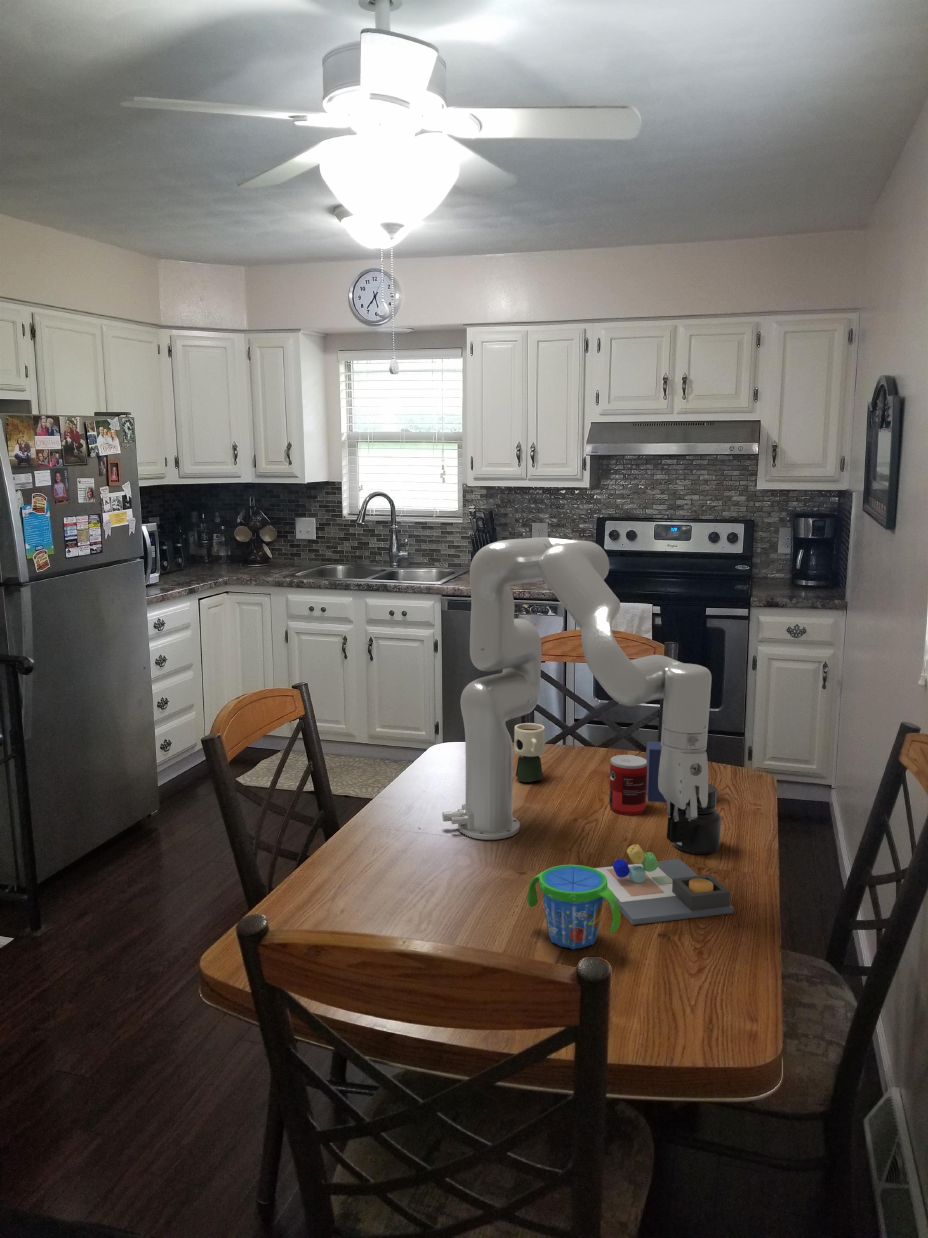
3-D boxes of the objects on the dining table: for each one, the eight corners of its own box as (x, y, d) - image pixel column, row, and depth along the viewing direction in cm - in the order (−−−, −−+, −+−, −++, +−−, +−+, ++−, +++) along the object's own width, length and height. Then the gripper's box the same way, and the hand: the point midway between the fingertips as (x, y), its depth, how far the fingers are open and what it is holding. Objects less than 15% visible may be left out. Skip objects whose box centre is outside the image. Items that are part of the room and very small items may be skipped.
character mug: (509, 773, 228) (509, 721, 226) (538, 772, 229) (538, 720, 227) (519, 788, 218) (520, 734, 215) (549, 787, 219) (550, 732, 217)
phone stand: (696, 785, 220) (698, 735, 218) (703, 803, 208) (705, 751, 206) (643, 783, 221) (645, 734, 219) (647, 801, 210) (649, 749, 208)
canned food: (620, 800, 210) (621, 752, 208) (652, 808, 205) (654, 759, 203) (602, 809, 204) (603, 760, 203) (634, 818, 199) (636, 768, 198)
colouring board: (632, 925, 153) (633, 904, 153) (588, 873, 172) (588, 855, 172) (733, 913, 157) (734, 893, 157) (679, 864, 176) (680, 846, 176)
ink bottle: (682, 833, 191) (684, 776, 189) (725, 842, 187) (728, 784, 185) (666, 850, 183) (668, 790, 181) (711, 860, 178) (714, 799, 177)
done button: (695, 903, 158) (695, 889, 157) (684, 893, 161) (684, 879, 161) (717, 901, 159) (717, 887, 158) (705, 890, 162) (706, 877, 162)
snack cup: (512, 934, 150) (512, 873, 149) (553, 912, 158) (554, 853, 156) (593, 970, 140) (594, 905, 138) (633, 944, 147) (635, 882, 146)
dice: (615, 884, 165) (616, 849, 164) (610, 878, 168) (611, 843, 167) (659, 882, 166) (660, 847, 165) (654, 875, 169) (655, 841, 168)
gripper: (726, 750, 153) (718, 857, 156) (684, 724, 167) (677, 822, 171) (683, 753, 151) (676, 861, 155) (645, 725, 166) (639, 825, 169)
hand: (677, 840), depth 163 cm, fingers closed
